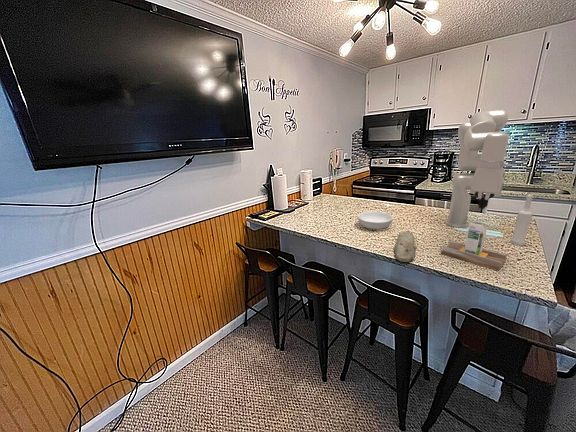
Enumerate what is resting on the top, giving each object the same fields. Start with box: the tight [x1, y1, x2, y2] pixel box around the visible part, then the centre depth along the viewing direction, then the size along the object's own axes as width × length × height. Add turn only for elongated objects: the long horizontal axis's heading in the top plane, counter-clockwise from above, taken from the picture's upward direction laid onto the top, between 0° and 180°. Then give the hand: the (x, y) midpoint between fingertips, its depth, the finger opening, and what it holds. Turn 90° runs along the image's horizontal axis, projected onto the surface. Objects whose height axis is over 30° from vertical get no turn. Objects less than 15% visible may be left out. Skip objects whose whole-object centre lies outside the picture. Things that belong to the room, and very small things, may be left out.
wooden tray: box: [440, 240, 508, 272], centre depth 114 cm, size 12×22×4 cm, turn 40°
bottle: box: [510, 194, 534, 246], centre depth 120 cm, size 5×5×25 cm
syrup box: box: [464, 220, 489, 255], centre depth 111 cm, size 6×6×14 cm
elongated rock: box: [393, 231, 418, 263], centre depth 127 cm, size 35×5×10 cm
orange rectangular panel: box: [460, 247, 488, 257], centre depth 113 cm, size 7×10×1 cm
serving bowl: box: [357, 210, 394, 230], centre depth 156 cm, size 21×21×7 cm
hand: (482, 207), depth 106 cm, fingers closed
